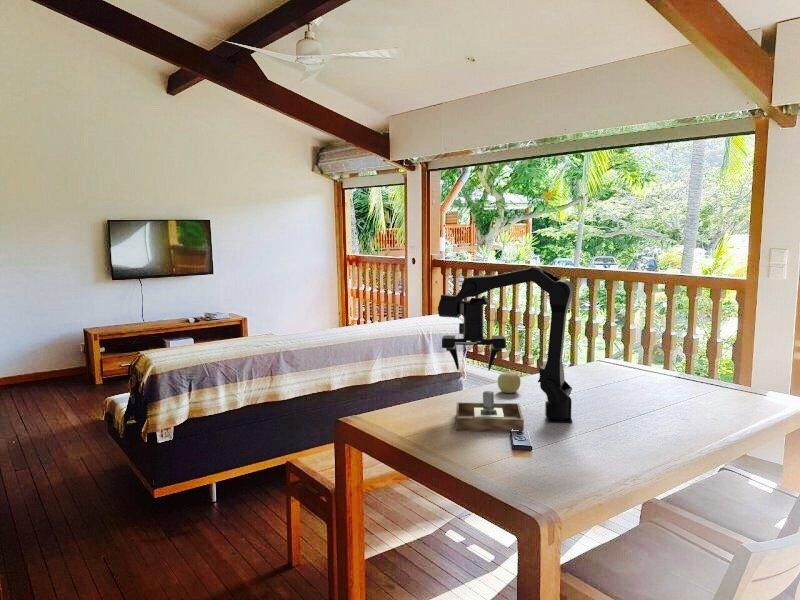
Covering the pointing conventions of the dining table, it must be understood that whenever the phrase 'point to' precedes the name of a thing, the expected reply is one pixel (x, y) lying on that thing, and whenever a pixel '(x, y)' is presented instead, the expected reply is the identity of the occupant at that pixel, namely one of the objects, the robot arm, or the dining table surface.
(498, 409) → the bore plate
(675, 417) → the dining table surface
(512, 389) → the fruit
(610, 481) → the dining table surface
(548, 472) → the dining table surface
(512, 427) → the crate
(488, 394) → the peg
